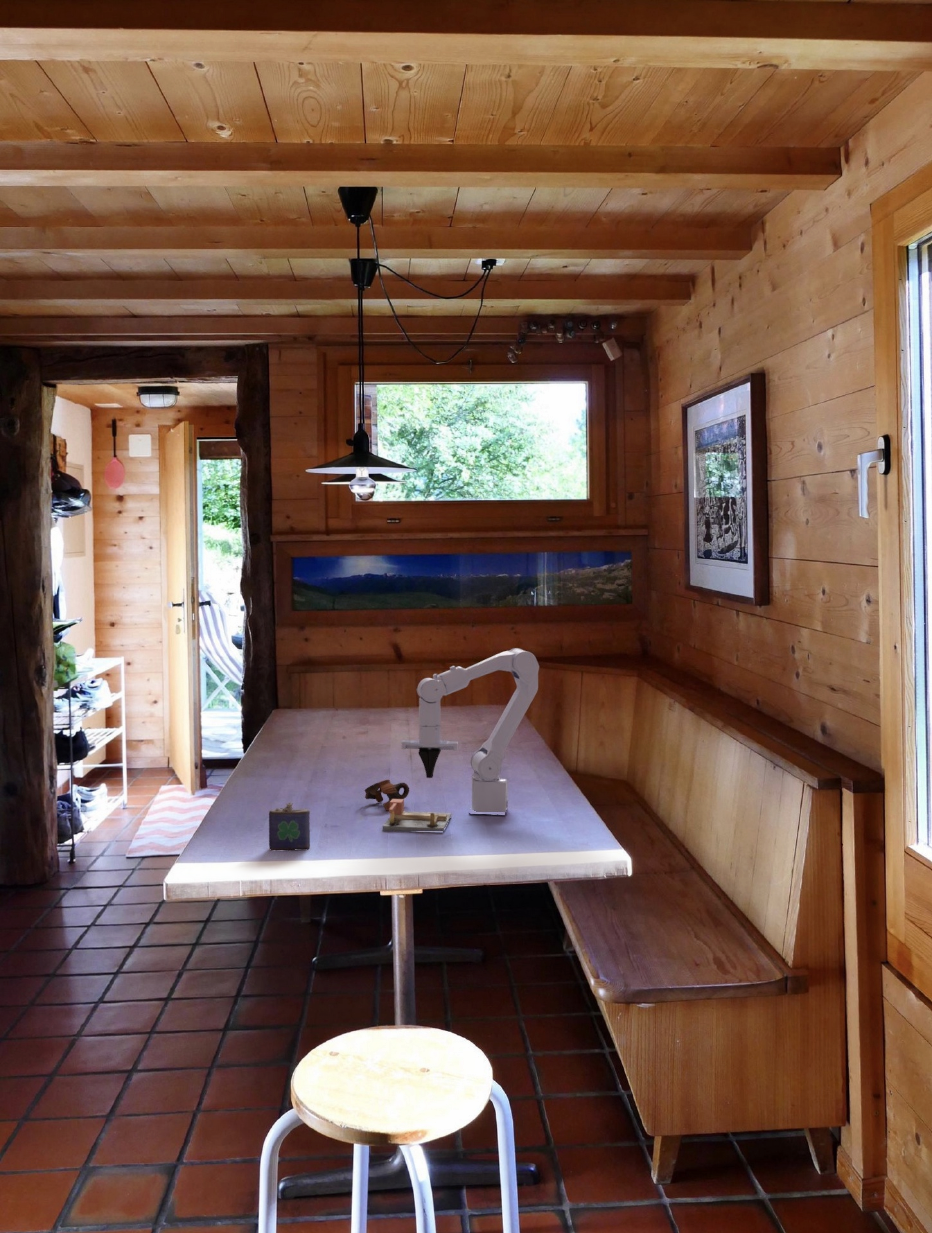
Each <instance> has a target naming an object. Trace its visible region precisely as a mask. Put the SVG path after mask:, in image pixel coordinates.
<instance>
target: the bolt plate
mask: <svg viewBox="0 0 932 1233" xmlns="http://www.w3.org/2000/svg"><path fill="white" fill-rule="evenodd" d="M403 813H421V814H430V813H435V814H447V819H446V820H438V821H437V823H436V824H435V825H434V826H431V825H430V820H424V819H397V818H394V823H390V816H389V817H388V818H387V820H386V821H385V822H384V824H382V832H399V831H444V828H445V827H446V825H447V823H448V821H449V819H450V817H451V815H452V816H453V814H452V812H435V811H434V812H431V811H430V812H429V811H405V810H404V812H403ZM447 826H448V825H447ZM446 828H447V827H446ZM444 832H445V831H444Z"/></svg>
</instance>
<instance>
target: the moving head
mask: <svg viewBox="0 0 932 1233" xmlns="http://www.w3.org/2000/svg"><path fill="white" fill-rule="evenodd" d="M404 811H405V798H404V799H392V800H391V801H390V809H389V811H388V813H389V817H390V823H394V814H402V813H403V812H404Z"/></svg>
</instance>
